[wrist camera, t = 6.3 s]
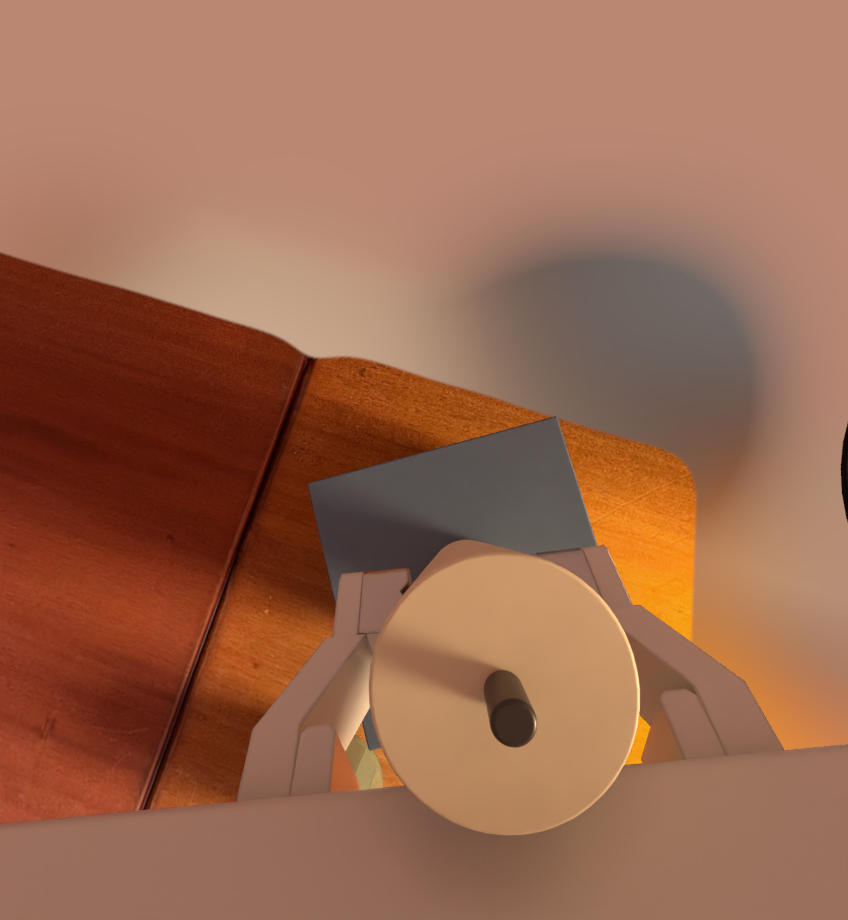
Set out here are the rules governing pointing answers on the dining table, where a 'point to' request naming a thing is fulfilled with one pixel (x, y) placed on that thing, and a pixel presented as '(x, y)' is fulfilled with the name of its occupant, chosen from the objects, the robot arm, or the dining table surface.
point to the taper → (503, 690)
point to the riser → (452, 506)
